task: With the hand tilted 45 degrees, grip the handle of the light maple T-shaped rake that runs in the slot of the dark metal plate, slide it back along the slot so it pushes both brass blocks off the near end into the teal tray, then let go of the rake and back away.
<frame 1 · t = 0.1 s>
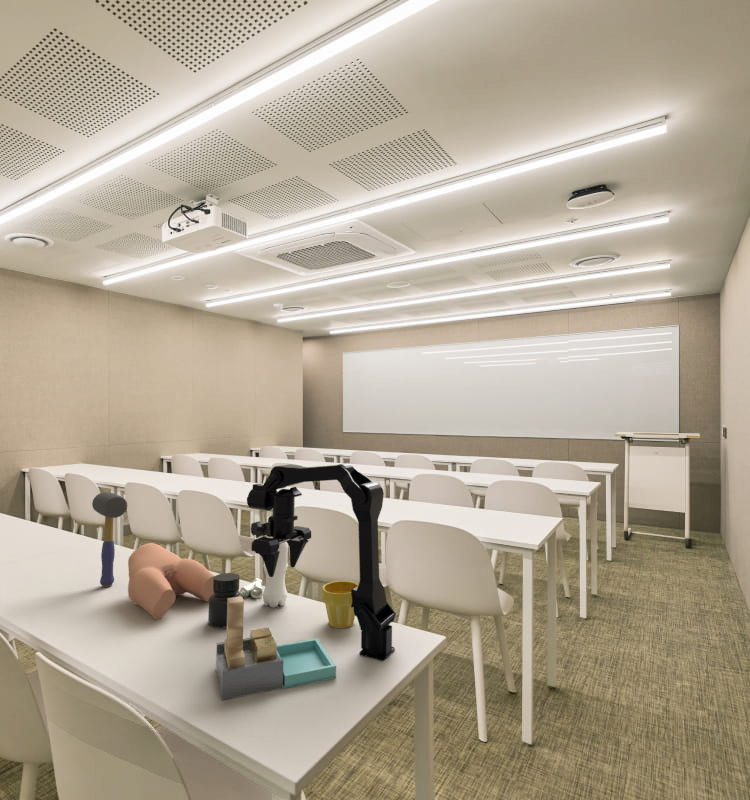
hand: (282, 571, 128), 15 cm above the table, tool pointing down, fingers open, 9 cm apart
rubber mallet: (106, 586, 157), on the table
pipe fitting: (251, 595, 152), on the table
brass block 1: (260, 650, 107), point 4 cm above the table, touching slot plate
plant pot: (340, 624, 131), on the table
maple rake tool: (234, 629, 102), point 11 cm above the table, slide at 9.0 cm
slot plate: (248, 677, 103), on the table
teal tray: (302, 667, 108), on the table
water bottle: (274, 604, 144), on the table
ink bottle: (225, 622, 131), on the table
medical training model: (165, 602, 145), on the table
brass block 2: (264, 661, 102), point 4 cm above the table, touching slot plate
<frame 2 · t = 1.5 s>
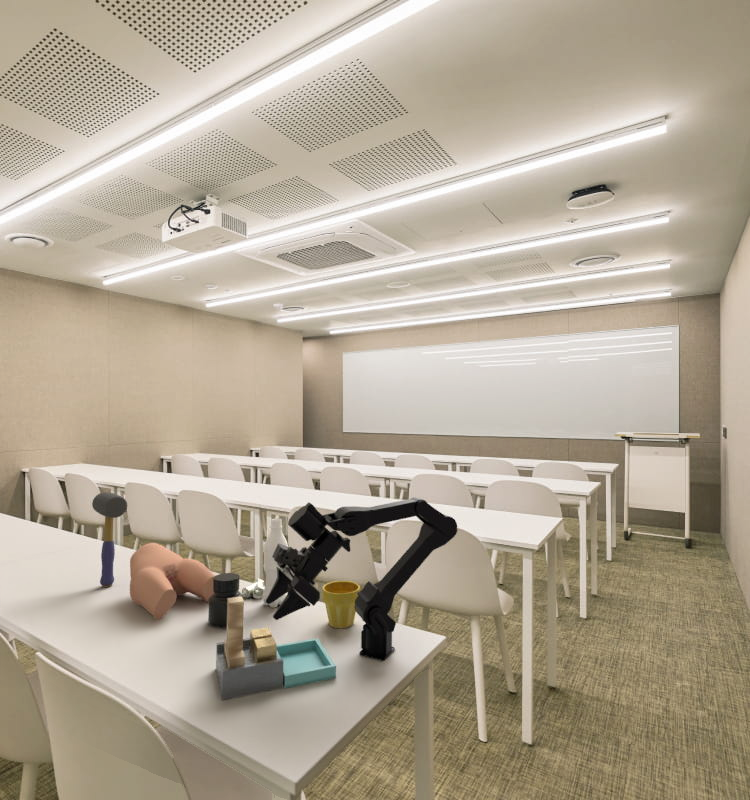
hand: (270, 610, 106), 13 cm above the table, tool tilted 45°, fingers open, 9 cm apart
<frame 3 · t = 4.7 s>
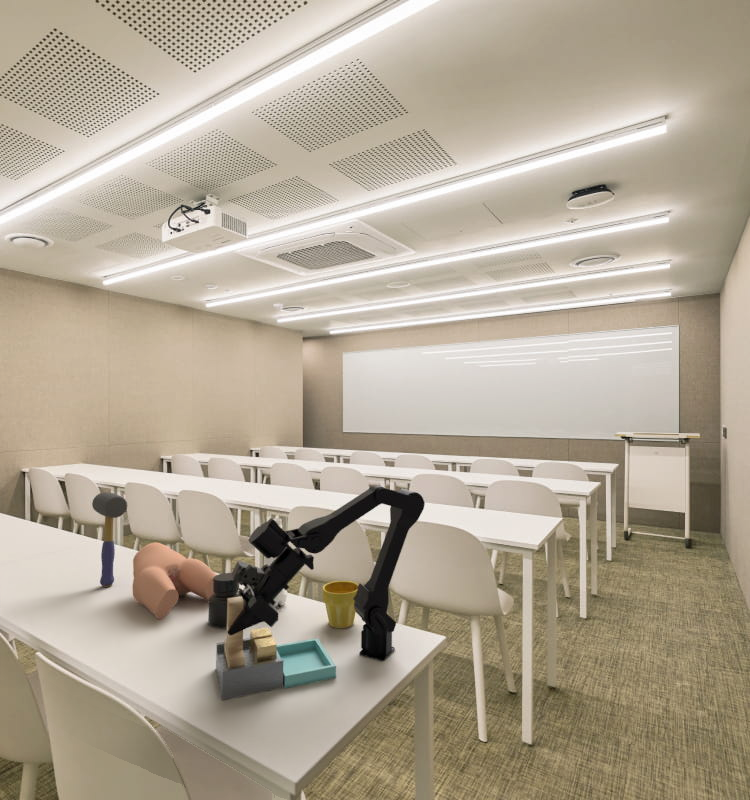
hand: (228, 630, 102), 11 cm above the table, tool tilted 45°, fingers closed on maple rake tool, 3 cm apart
pipe fitting: (257, 597, 151), on the table
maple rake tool: (234, 629, 102), point 11 cm above the table, slide at 9.0 cm, touching gripper
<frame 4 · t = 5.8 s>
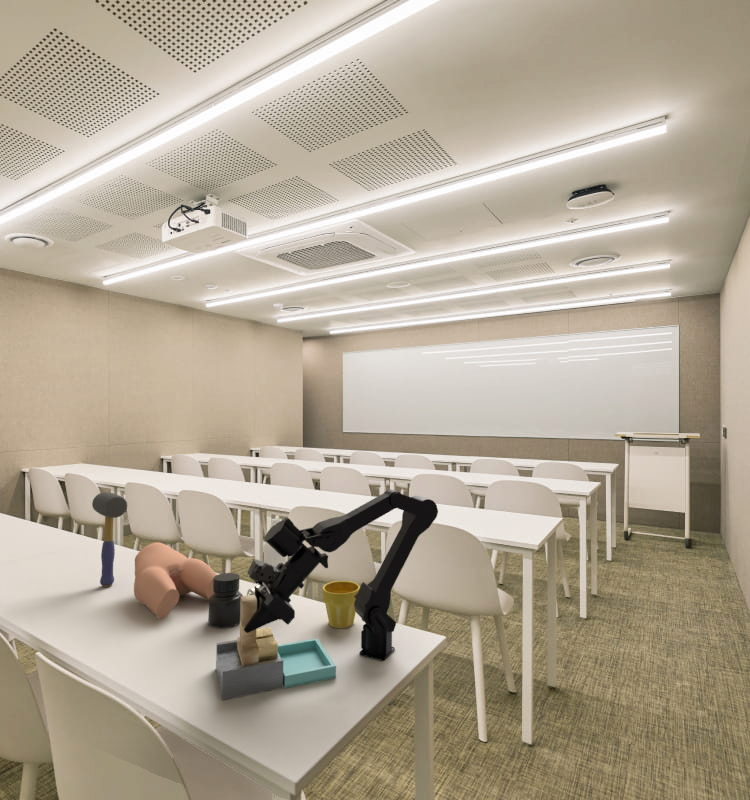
hand: (244, 628, 103), 11 cm above the table, tool tilted 45°, fingers closed on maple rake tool, 3 cm apart
brass block 1: (261, 650, 107), point 4 cm above the table
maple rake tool: (248, 627, 104), point 11 cm above the table, slide at 6.3 cm, touching gripper
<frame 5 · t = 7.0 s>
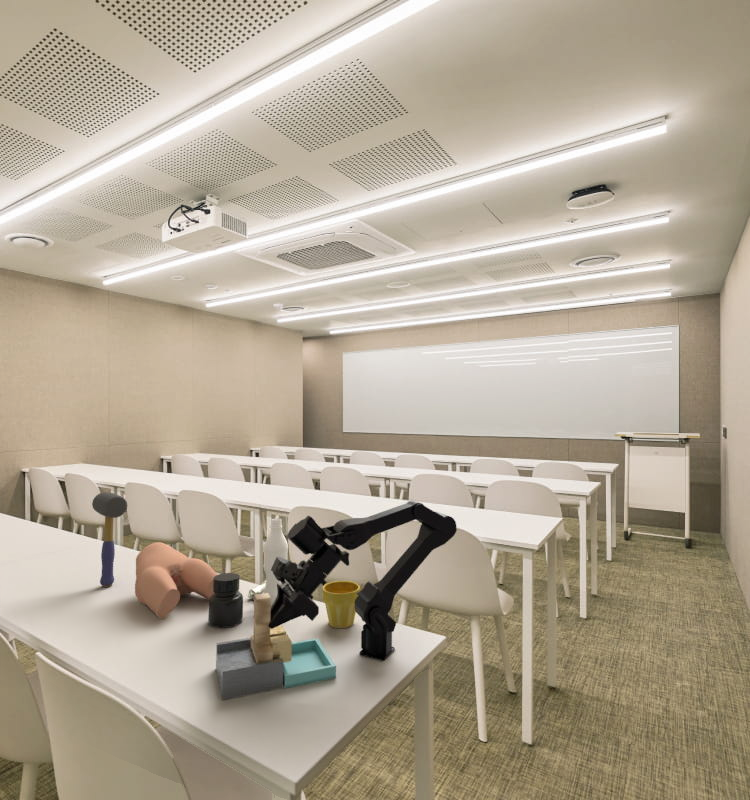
hand: (268, 624, 105), 11 cm above the table, tool tilted 45°, fingers closed on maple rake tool, 3 cm apart
brass block 1: (275, 648, 108), point 4 cm above the table, touching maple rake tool, slot plate
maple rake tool: (261, 625, 105), point 11 cm above the table, slide at 3.4 cm, touching brass block 2, brass block 1, gripper
brass block 2: (279, 658, 104), point 4 cm above the table, touching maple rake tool, slot plate
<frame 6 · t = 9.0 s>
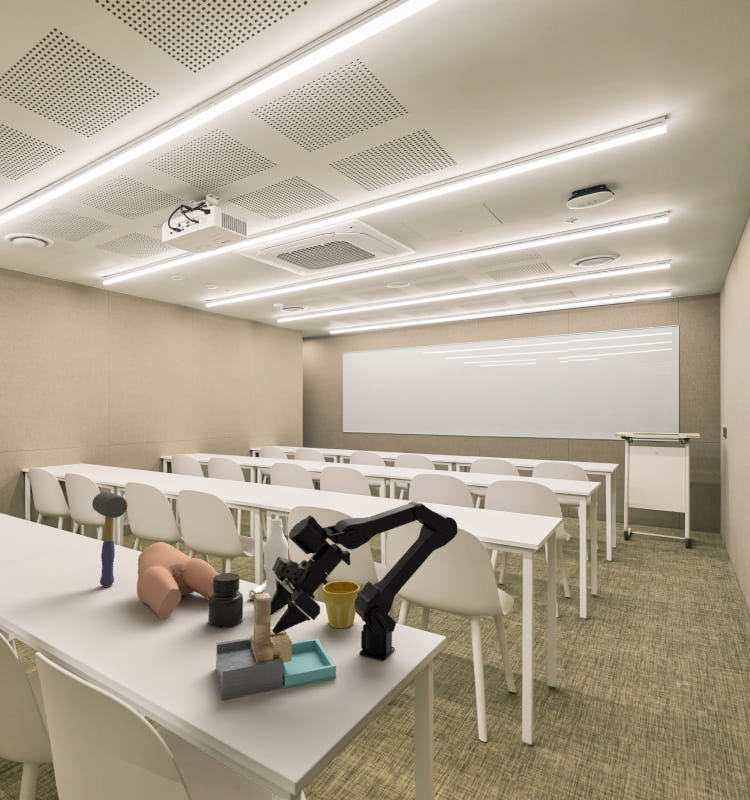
hand: (269, 623, 105), 11 cm above the table, tool tilted 45°, fingers open, 9 cm apart
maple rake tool: (262, 625, 105), point 11 cm above the table, slide at 3.3 cm, touching brass block 2, brass block 1
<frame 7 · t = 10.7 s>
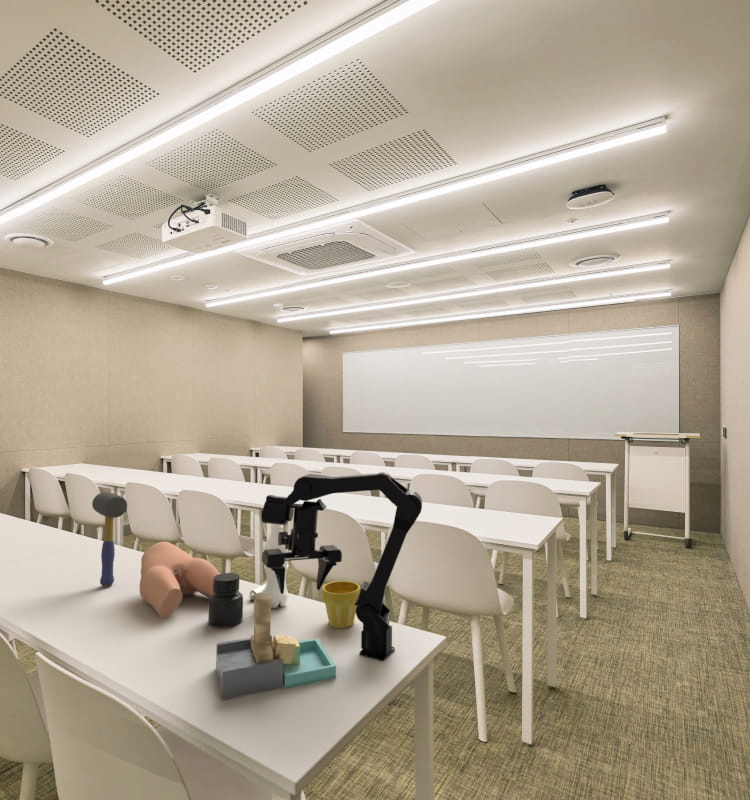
hand: (300, 591, 118), 13 cm above the table, tool pointing down, fingers open, 9 cm apart
brass block 1: (280, 654, 109), point 2 cm above the table, tilted 90°, touching teal tray
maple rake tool: (262, 625, 105), point 11 cm above the table, slide at 3.3 cm
brass block 2: (280, 658, 104), point 4 cm above the table, tilted 14°, touching slot plate
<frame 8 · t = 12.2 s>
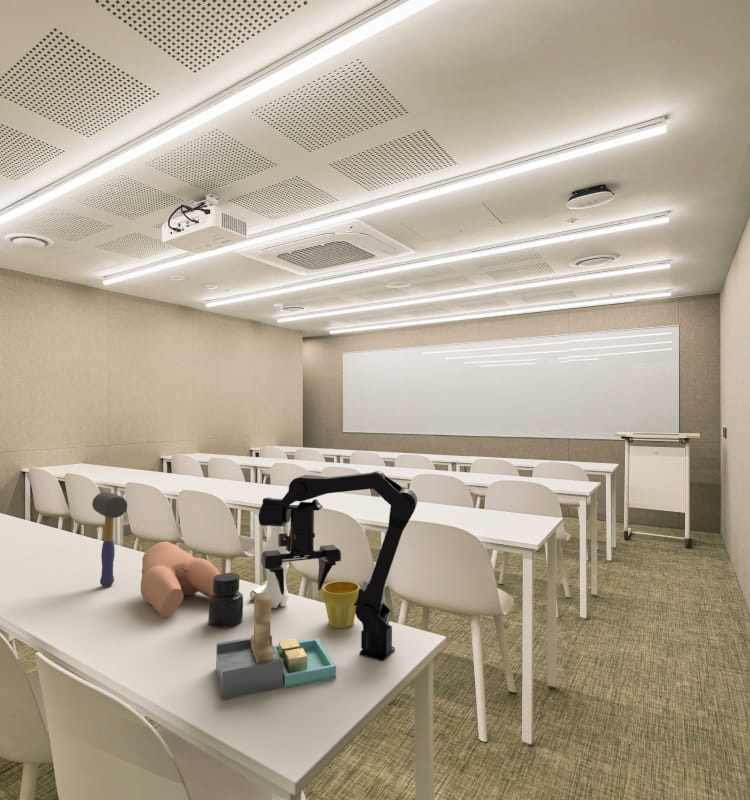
hand: (300, 591, 118), 13 cm above the table, tool pointing down, fingers open, 9 cm apart
brass block 2: (286, 664, 104), point 2 cm above the table, tilted 90°, touching teal tray
at the end: brass block 2 inside the target area on the teal tray (4.9 cm from its centre), point 2.5 cm above the teal tray's base; brass block 1 inside the target area on the teal tray (5.1 cm from its centre), point 2.5 cm above the teal tray's base; the gripper is holding nothing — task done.
